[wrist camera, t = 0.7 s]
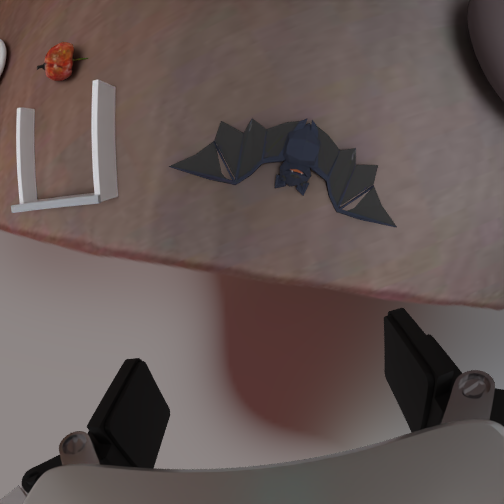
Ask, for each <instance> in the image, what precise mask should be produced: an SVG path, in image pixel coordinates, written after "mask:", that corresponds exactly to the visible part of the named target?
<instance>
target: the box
mask: <svg viewBox="0 0 504 504" xmlns="http://www.w3.org/2000/svg"><path fill="white" fill-rule="evenodd" d="M115 94H116V87H114V86H112V85H110V84H107V83H105V82H103V81H101V80H95V81H93V87H92V160H93V179H94V193H88V194H79V195H71V196H62V197H55V198H47V199H40V200H37V189H36V175H35V153H34V116H35V109H30V108H21V107H20V108H18V109H17V132H16V144H17V173H18V187H19V198H20V204H18V205H12V206H11V210H12V213H15V212H23V211H31V210H39V209H48V208H57V207H67V206H77V205H87V204H99V203H101V202H102V201H105V200H109V199H112V198H115V197H118V186H117V169H116V144H115Z"/></svg>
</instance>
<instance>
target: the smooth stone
mask: <svg viewBox="0 0 504 504" xmlns="http://www.w3.org/2000/svg"><path fill="white" fill-rule="evenodd" d="M467 19H468V28H469V33H470V38H471V42H472V45H473V48H474V52H475V55H476V57H477V59H478V61H479V64H480V66H481V68H482V70H483V72H484V74H485V76H486V78H487V80H488V81H489V83H490V84H491V86H492V87H493V89H494V90H495V92H496V93H497V94H498V96H499V97H500V98H501V99H502V101H503V102H504V0H470V1H469V6H468V12H467Z"/></svg>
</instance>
